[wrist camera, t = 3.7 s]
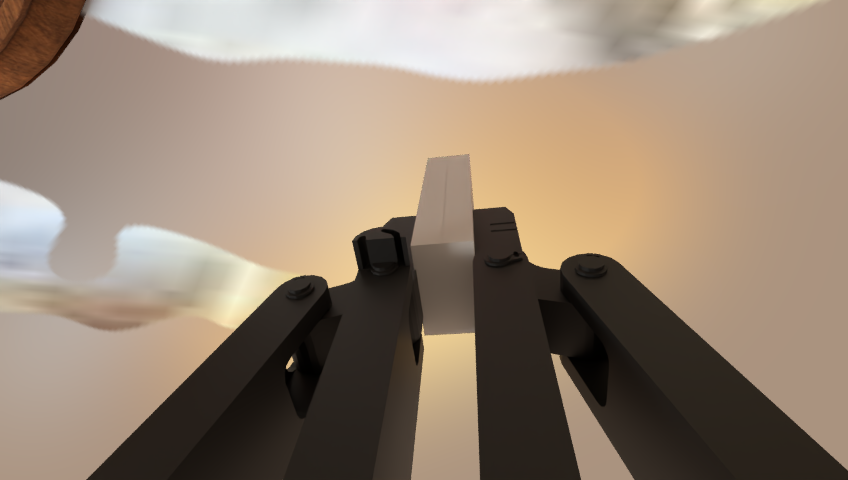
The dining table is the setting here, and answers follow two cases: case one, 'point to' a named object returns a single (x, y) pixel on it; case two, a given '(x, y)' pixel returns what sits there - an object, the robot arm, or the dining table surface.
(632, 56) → the dining table surface
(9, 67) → the cutting board
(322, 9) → the dining table surface
